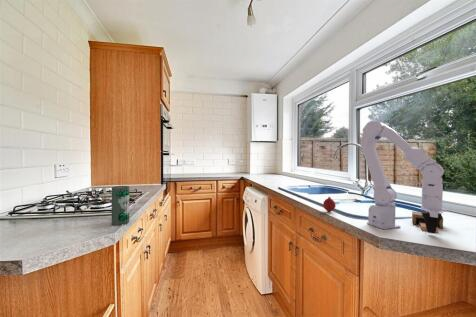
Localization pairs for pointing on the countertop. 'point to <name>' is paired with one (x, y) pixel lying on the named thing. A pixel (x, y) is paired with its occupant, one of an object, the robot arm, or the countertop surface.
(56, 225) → the countertop surface
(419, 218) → the shelf
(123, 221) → the can
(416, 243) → the countertop surface
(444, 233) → the countertop surface
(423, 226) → the tile
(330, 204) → the onion
